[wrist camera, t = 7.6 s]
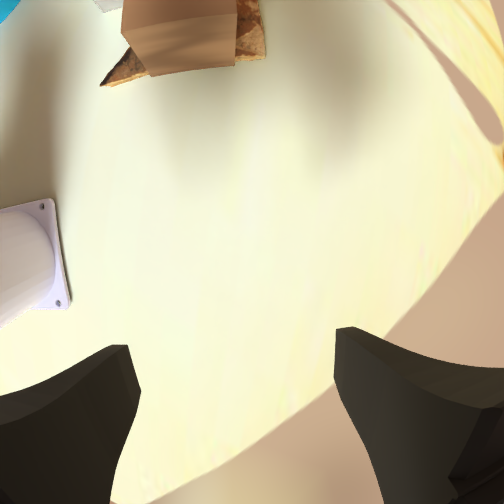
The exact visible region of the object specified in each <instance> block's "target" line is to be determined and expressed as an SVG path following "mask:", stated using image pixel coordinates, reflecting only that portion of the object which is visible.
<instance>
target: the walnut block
mask: <svg viewBox="0 0 504 504" xmlns="http://www.w3.org/2000/svg"><path fill="white" fill-rule="evenodd" d="M236 29H237V6H236V0H124V1H123V11H122V23H121V34H122V35H123V37H124V38H125V39H126V41H127V42H128V44H129V45H130V47H131V48H132V49H133V51H134V52H135V54H136V55H137V57H138V58H139V60H140V61H141V62H142V64H143V65H144V67H145V68H146V70H147V71H148V73H149V74H150V76H151V77H155V76H160V75H165V74H171V73H177V72H184V71H190V70H198V69H205V68H214V67H224V66H234V65H235V46H236Z"/></svg>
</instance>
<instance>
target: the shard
mask: <svg viewBox="0 0 504 504" xmlns="http://www.w3.org/2000/svg"><path fill="white" fill-rule="evenodd" d="M236 6H237V29H236V46H235V62H236V61H239V60H247V61H248V60H249V61H251V60H256V59H265V57H266V54H265V45H264V38H263V37H264V31H263V26H262V20H261V16H260V13H259V6H258V0H236ZM145 75H149V73H148V71H147V70H146V68H145V67H144V65H143V64H142V62H141V61H140V60H139V58H138V57H137V55H136V54H135V52H134V51H133V49H132V48H131V47H129V48H128V49H127V51H126V52H125V54H124V55H123V57H122V58H121V59H120V61H119V62H118V63H117V64H116V65H115V66H114V68H113V69H112V70H111V71H110V72H109V73H108V74H107V76H106V77H105V79H104V80H103V81H102V82H101V84H100V87H101V86H111V87H113V86H116V85H119V84H122V83H125V82H129V81H132V80H134V79H137V78H140V77H142V76H145Z"/></svg>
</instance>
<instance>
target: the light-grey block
mask: <svg viewBox="0 0 504 504" xmlns="http://www.w3.org/2000/svg"><path fill="white" fill-rule="evenodd" d="M93 1H94V2H95V3H96V4H97V6H98V7H99V8H100V9H101V11H102V12H103V13H105V12H108V11H111V10H115V9H118V8H122V7H123V1H124V0H93Z"/></svg>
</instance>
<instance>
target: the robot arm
mask: <svg viewBox="0 0 504 504" xmlns="http://www.w3.org/2000/svg"><path fill="white" fill-rule="evenodd" d="M42 204H44V210H43V208H42ZM58 300H59V301H60V302H61V305H60V304H59V302H58ZM70 306H71V300H70V296H69V291H68V287H67V282H66V277H65V272H64V267H63V261H62V255H61V249H60V243H59V236H58V228H57V220H56V211H55V203H54V201H53V199H51V198H47V199H42V200H37V201H33V202H28V203H24V204H20V205H16V206H11V207H7V208H3V209H0V330H1V329H2V328H4V327H5V326H7V325H8V324H9V323H11V322H12V321H14V320H15V319H17V318H18V317H19V316H21V315H22V314H24V313H25V312H27V311H28V310H30V309H45V310H66V309H68V308H69V307H70ZM334 380H335V383H336V386H337V389H338V392H339V395H340V398H341V400H342V402H343V404H344V406H345V408H346V410H347V412H348V414H349V416H350V418H351V420H352V422H353V424H354V426H355V428H356V430H357V431H358V434H359V435H360V437H361V439H362V441H363V443H364V445H365V447H366V450H367V452H368V454H369V457H370V460H371V463H372V466H373V468H374V471H375V474H376V477H377V480H378V484H379V487H380V491H381V494H382V497H383V501H384V504H504V368H486V367H474V366H467V365H460V364H455V363H449V362H445V361H441V360H437V359H433V358H430V357H426V356H423V355H420V354H417V353H415V352H411V351H409V350H406V349H404V348H402V347H399V346H397V345H394V344H392V343H390V342H388V341H385V340H383V339H381V338H379V337H377V336H374V335H372V334H370V333H368V332H366V331H363V330H361V329H359V328H356V327H346V328H340V329H336V344H335V364H334ZM140 394H141V389H140V386H139V383H138V379H137V376H136V373H135V370H134V366H133V363H132V359H131V356H130V352H129V348H128V345H110V346H108V347H106V348H104V349H102V350H100V351H98V352H96V353H94V354H93V355H91V356H89V357H87V358H86V359H84V360H82V361H81V362H79V363H77V364H75V365H74V366H72V367H70V368H68V369H66V370H64V371H63V372H61V373H59V374H57V375H55V376H53V377H51V378H49V379H47V380H45V381H43V382H40V383H38V384H36V385H33V386H31V387H28V388H25V389H23V390H19V391H16V392H13V393H9V394H6V395H2V396H0V504H109V503H110V496H111V490H112V485H113V480H114V475H115V470H116V467H117V464H118V460H119V457H120V455H121V452H122V449H123V447H124V444H125V442H126V439H127V436H128V434H129V431H130V429H131V426H132V424H133V421H134V418H135V416H136V413H137V408H138V404H139V399H140Z"/></svg>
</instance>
